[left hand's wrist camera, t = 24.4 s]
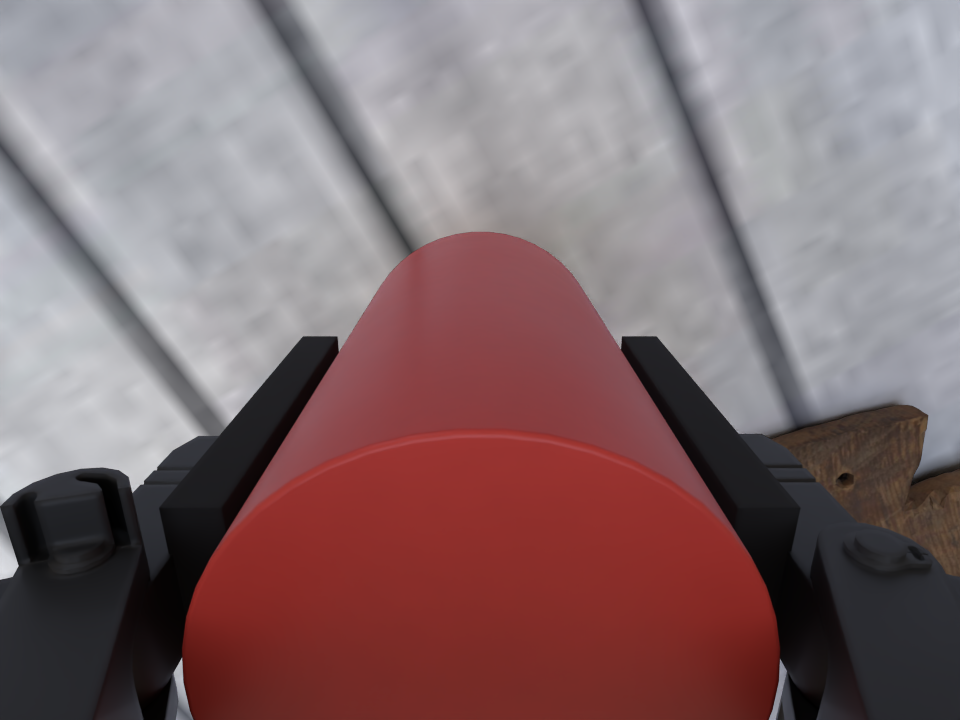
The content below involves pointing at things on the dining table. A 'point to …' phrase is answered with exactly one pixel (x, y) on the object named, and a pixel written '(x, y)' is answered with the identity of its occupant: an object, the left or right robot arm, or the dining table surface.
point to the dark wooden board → (884, 476)
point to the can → (480, 527)
